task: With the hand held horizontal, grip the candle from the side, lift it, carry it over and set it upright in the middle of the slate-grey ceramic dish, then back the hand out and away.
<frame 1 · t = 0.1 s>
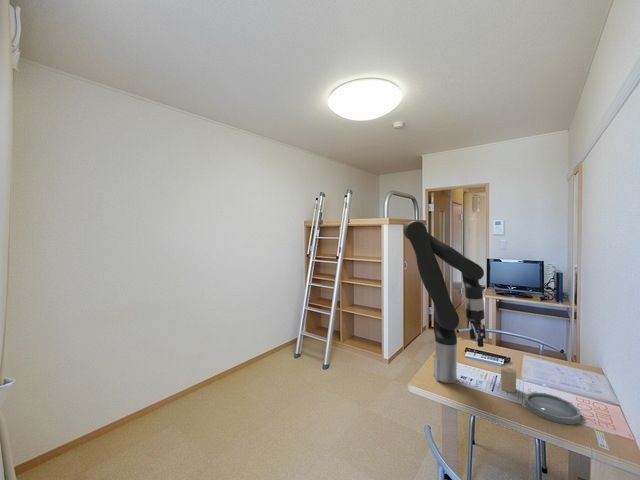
hand: (476, 342, 129), 17 cm above the table, tool pointing down, fingers open, 8 cm apart
dish: (551, 409, 108), on the table
candle: (508, 389, 122), on the table
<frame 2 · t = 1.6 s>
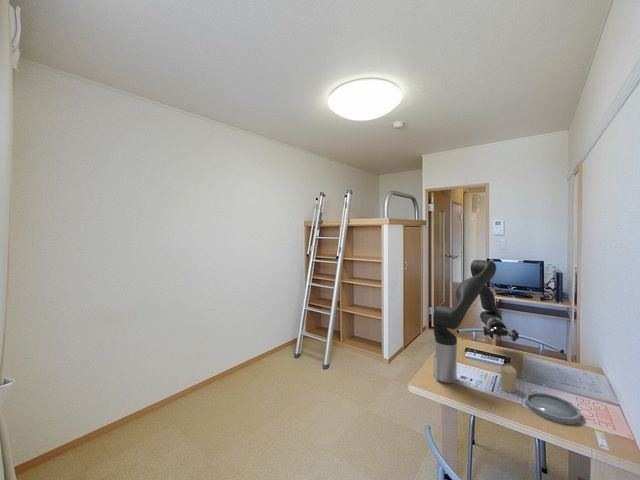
hand: (503, 338, 132), 18 cm above the table, tool horizontal, fingers open, 8 cm apart
nothing on the table moved.
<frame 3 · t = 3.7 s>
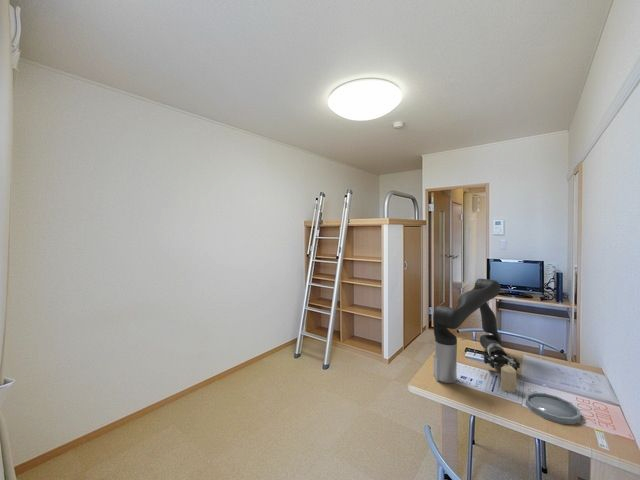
hand: (504, 367, 129), 6 cm above the table, tool horizontal, fingers open, 8 cm apart
nothing on the table moved.
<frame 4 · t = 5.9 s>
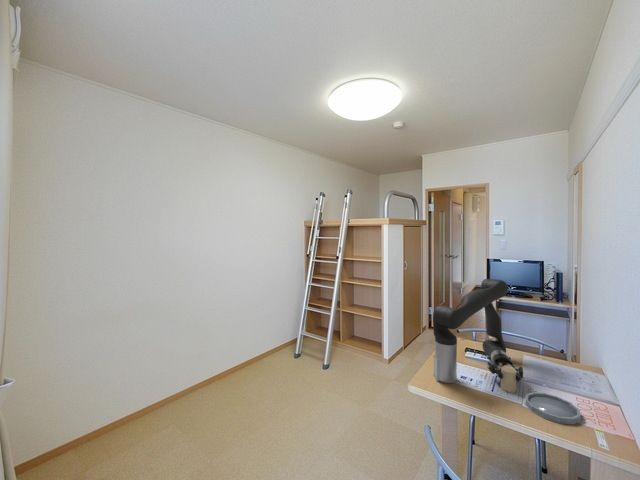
hand: (510, 378, 120), 6 cm above the table, tool horizontal, fingers closed on candle, 5 cm apart
candle: (508, 389, 122), on the table, touching gripper
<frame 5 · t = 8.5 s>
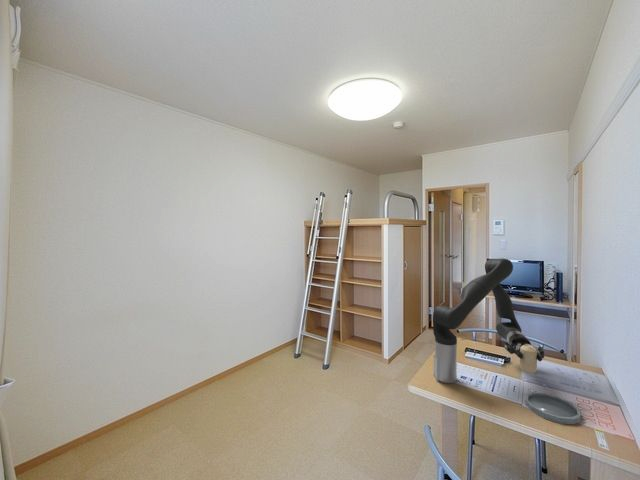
hand: (530, 357, 113), 18 cm above the table, tool horizontal, fingers closed on candle, 5 cm apart
candle: (528, 370, 115), point 11 cm above the table, touching gripper
when the fingers open (8 cm above the table, at t = 11.5 s): candle drops 1 cm, resting on dish.
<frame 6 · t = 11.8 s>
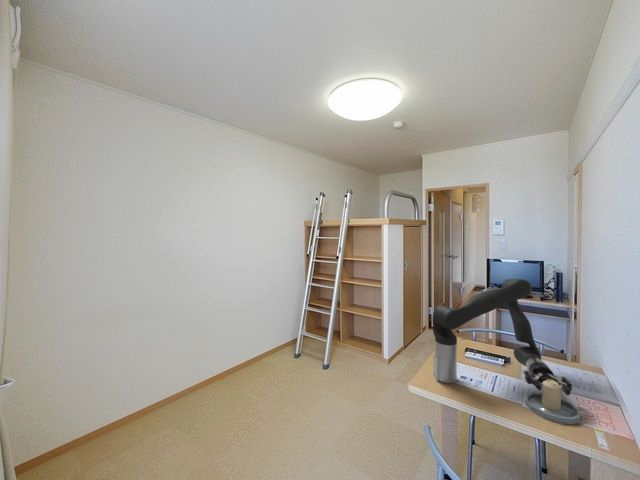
hand: (554, 390, 106), 8 cm above the table, tool horizontal, fingers open, 8 cm apart
candle: (551, 407, 108), point 1 cm above the table, touching dish
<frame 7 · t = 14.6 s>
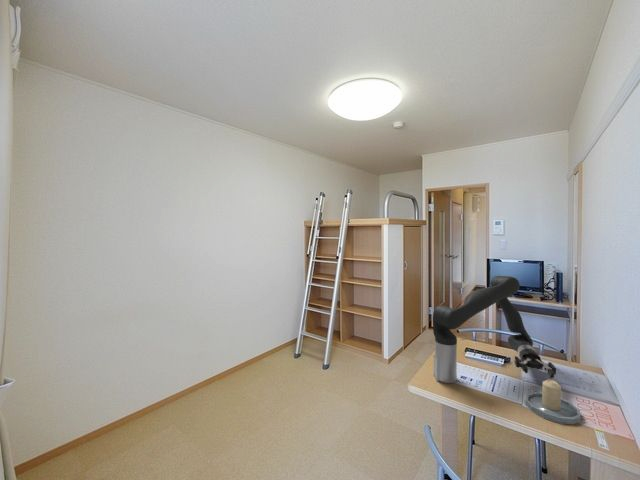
hand: (539, 373, 118), 8 cm above the table, tool horizontal, fingers open, 8 cm apart
nothing on the table moved.
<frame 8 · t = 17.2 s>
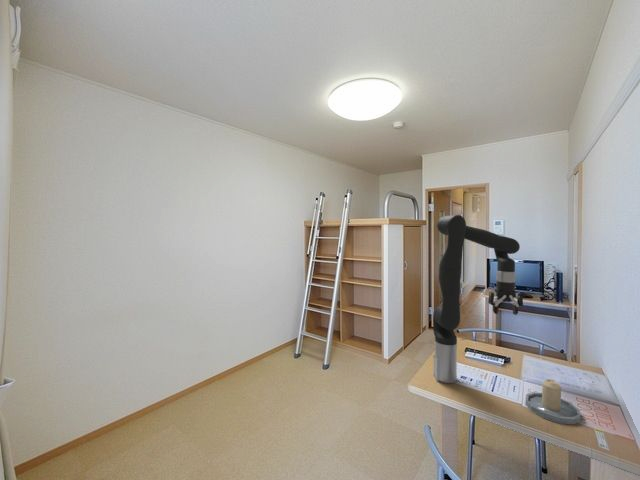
hand: (505, 313, 136), 28 cm above the table, tool pointing down, fingers open, 8 cm apart
nothing on the table moved.
at the end: candle inside the target area on the dish (0.2 cm from its centre), point 0.8 cm above the dish's base; candle tilted 0°; the gripper is holding nothing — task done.
